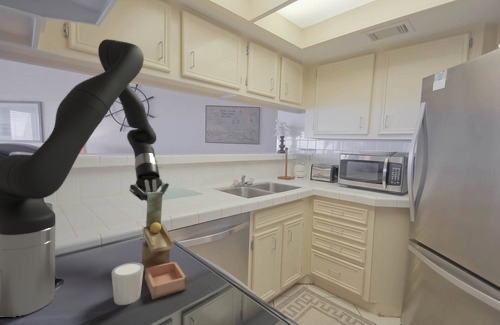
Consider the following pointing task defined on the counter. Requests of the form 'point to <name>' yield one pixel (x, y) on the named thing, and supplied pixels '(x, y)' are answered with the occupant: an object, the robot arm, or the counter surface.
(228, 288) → the counter surface
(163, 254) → the fulcrum
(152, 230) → the ball
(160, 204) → the ramp
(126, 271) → the white cylinder
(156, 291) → the dish
